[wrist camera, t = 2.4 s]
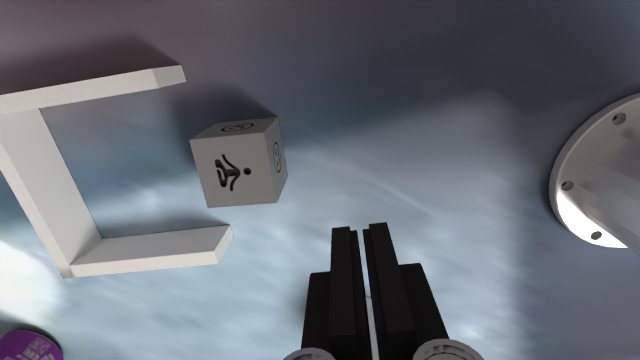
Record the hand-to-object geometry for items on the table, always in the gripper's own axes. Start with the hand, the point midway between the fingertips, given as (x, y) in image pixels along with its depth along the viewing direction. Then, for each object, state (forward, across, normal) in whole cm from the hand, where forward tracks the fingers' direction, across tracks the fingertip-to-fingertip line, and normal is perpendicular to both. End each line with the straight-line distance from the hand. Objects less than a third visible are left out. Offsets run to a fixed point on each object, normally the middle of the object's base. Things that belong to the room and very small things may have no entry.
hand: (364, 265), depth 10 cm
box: (+16, +19, +1) cm, 25 cm away
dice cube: (+17, +8, 0) cm, 18 cm away
